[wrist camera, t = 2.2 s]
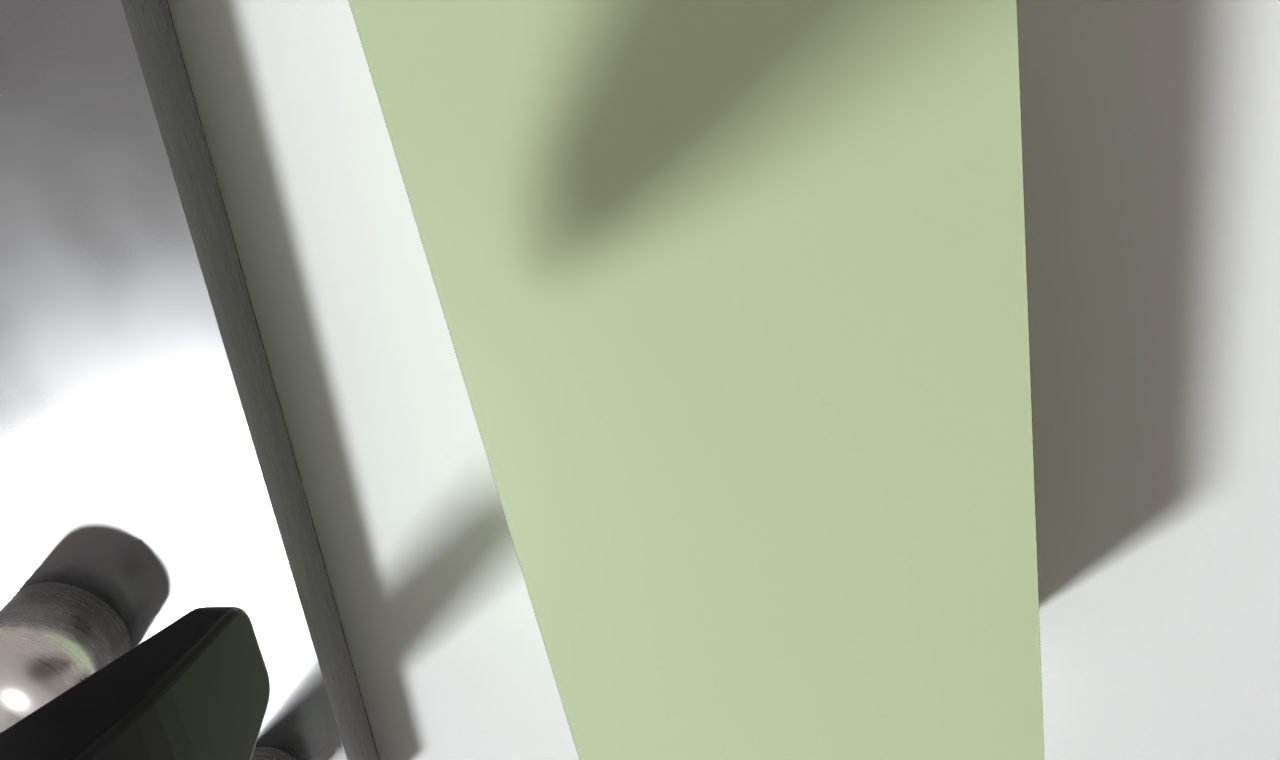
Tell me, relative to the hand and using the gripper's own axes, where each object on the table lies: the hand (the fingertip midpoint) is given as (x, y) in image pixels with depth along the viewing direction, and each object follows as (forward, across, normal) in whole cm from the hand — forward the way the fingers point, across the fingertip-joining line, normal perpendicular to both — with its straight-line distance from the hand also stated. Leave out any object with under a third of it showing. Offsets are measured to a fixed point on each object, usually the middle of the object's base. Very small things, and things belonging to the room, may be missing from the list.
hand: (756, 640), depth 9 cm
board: (+7, 0, 0) cm, 7 cm away
